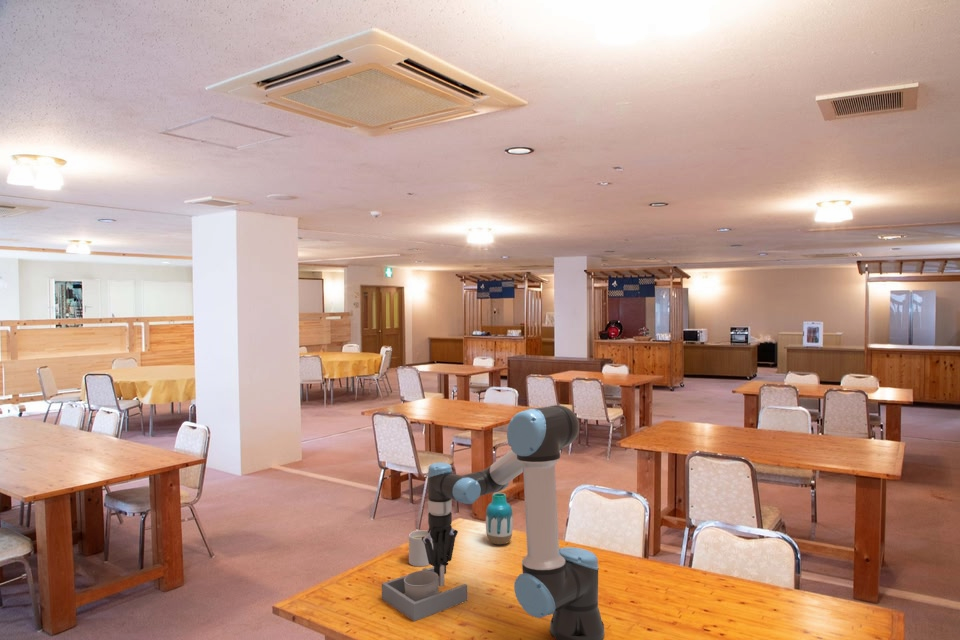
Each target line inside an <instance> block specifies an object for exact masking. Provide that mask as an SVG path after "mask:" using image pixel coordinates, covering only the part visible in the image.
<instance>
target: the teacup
mask: <svg viewBox="0 0 960 640" xmlns="http://www.w3.org/2000/svg"><path fill="white" fill-rule="evenodd" d="M427 569H428V568H422V569H421V570H417V571H413V572H411V573H408V574H407V576H406V575H405V576H406V577H405V578H404V585H405V593H404V595H406V596H407V597H409V598H410V599H412V600H413V601H415V602H416V601H419V600H422V599H424V598H427V597H430V596H433V595H436V594H438V593H440V592H439V590H440V586H439V583H438V578H439V576H438V574H437V573H435V572H433V571H428V570H427Z"/></svg>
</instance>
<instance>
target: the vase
mask: <svg viewBox="0 0 960 640" xmlns="http://www.w3.org/2000/svg"><path fill="white" fill-rule="evenodd" d="M491 496H492V497H491V502H490V503H488V505H487V506H486V511H485V533H486V538H487V539H488V541H489V542H490V543H492V544H493V545H505V544H507V543H509V542H510V541H511V539H512V537H513V528H514V526H513V524H514V523H513V522H514V515H513V508H512V506H511V505H510V503H508V502H507V494H506V493H505V492H493V493H492V495H491Z"/></svg>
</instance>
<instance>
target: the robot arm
mask: <svg viewBox="0 0 960 640" xmlns="http://www.w3.org/2000/svg"><path fill="white" fill-rule="evenodd" d="M579 433H580V421H579V419H578V417H577V415H576V414H575V413H574V411H573V410H572V409H570V408H569V407H568V406H564V405H560V404H559V405H558V404H555V405H550V406H544V407H543V406H542V407H537V408H527V409H526V410H522V411H519V412H517V413H515V415H513V417H512V418H511V419H510V421H509V422H508V425H507V430H506V439H507V440H506V441H507V444H508V446H509V447H510V450H509V451H507V453H505V454H504V455H502V456H501V457H500V458H499V459H497V460H495V461H494V462H493V463H492V464H491V465H490V466H488V467H486V468H485V469H482V470H479V471H475V472H471V473H466V474H462V475H460V474H455V473H453V470H452V469H453V468H452V465H451V464H450V463H448V462H434V463H431V464H429V466H428V468H427V469H428V473H427V487H428V488H427V494H428V495H427V497H428V498H427V500H428V502H427V503H428V504H427V505H428V506H427V509H428V514H427V517H428V518H427V519H428V520H427V522H428V530H427V531H428V534H427V535H426V536H425V537H422V541H423V542H424V544H425V549H426V553H427V558H428V562H429V564H430V565H429V566H432V567H434V572H435V573H437V574H438V576H439V578H438V583H439V588H442V587H444V586H445V575H446V573H447V566H448V565H449V562H451V561H452V558H453V553H454V549H455V548H454V547H455V542H456V537H457V535H458V533H459V531H458V530H457V529H455V528H453V527H452V520H453V519H452V511H453V509H452V508H453V507H452V505H453V504H452V502H453V501H452V500H454V501H457V502H458V503H462V504H466V505H471V504H475V502H476V501H477V500H478V499H479V498H480V497H482V496H486V495H489V494H494V493H500V492H501V491H502V490H505V489H506V488H507V487H508V486H509V485H508V484H509V483H510V482H511V481H513V480H514V479H515V478H516V477H518V476H519V475H521V474H522V473H523V490H524V491H523V492H524V494H523V495H524V508H525V510H524V512H525V513H524V514H525V532H526V553H527V554H526V555H525V556H524V557H523V559H522V561H521V563H522V566H521V567H522V568H521V570H522V573H520V574H518V576H517V577H516V579H515V580H514V585H513V588H514V594H515V598H516V600H517V601H518V604H519V605H520V606H521V608H522V610H523V611H524V612H526V614H528V615H530V616H531V617H534V618H538V619H541V618H544V617H546V616H551V615H552V616H551V620H550V624H549V625H550V626H549V627H550V628H549V630H550V634H551V636H552V637H553V638H554V639H555V640H603V639H604V638H605V624H604V621H603V620H602V616H601V612H600V609H599V608H600V607H599V569H600V567H599V562H598V561H599V559H598V557H597V555H596V554H595V553H594V552H592V551H591V550H587V549H585V548H580V547H575V546H573V547H572V546H566V547H560V540H559V539H560V538H559V523H558V521H559V520H558V519H559V517H558V504H557V485H556V483H557V480H556V464H557V462H559V461H560V460H561V451H563V449H565V448H567V447H568V446H569V445H571V444H573V442H574V441H575V440H576V439H577V437H578V436H579ZM431 538H432V543H433V548H432V544H431Z"/></svg>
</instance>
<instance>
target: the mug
mask: <svg viewBox="0 0 960 640" xmlns="http://www.w3.org/2000/svg"><path fill="white" fill-rule="evenodd" d="M427 534H428V530H426V529H423V530H421V529H419V530H413V531H411V532H410V533H408V563H409V565H411V566H414V567H426V566H431V565H430V564H429V562H428V558H427V553H426V549H425V544H424V542H423V541H422V537H425V536H426V535H427ZM431 544H432V548H433V543H432V538H431Z"/></svg>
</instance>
